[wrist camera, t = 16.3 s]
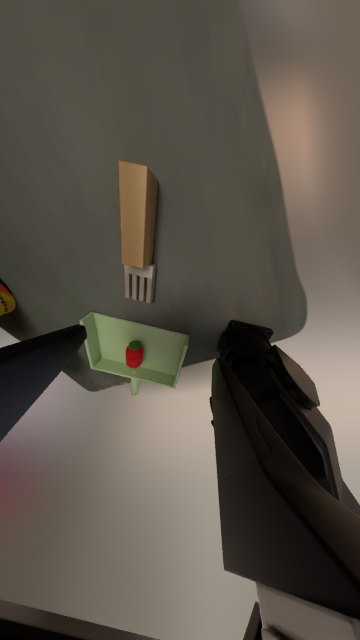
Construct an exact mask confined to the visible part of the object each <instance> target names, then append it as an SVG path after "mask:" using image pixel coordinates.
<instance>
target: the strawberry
mask: <svg viewBox="0 0 360 640" xmlns="http://www.w3.org/2000/svg"><path fill="white" fill-rule="evenodd" d="M142 361H143V347H142V345H141V343H140V342H139V341H131V342H130V343H129V345H128V346H127V348H126V364H127V366H128V367H130V368H133V369H134V368H138V367H139V366H140V365H141V364H142Z"/></svg>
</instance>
